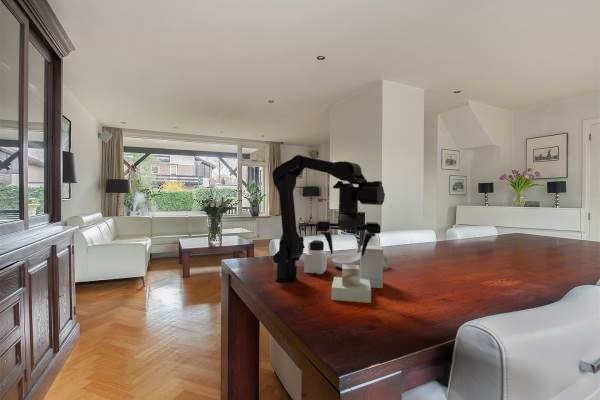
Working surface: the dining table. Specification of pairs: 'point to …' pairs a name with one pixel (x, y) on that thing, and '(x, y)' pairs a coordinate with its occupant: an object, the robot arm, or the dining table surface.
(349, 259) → the spoon rest
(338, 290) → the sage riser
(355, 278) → the cream block
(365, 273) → the supplement box
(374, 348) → the dining table surface
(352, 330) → the dining table surface
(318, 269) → the medicine bottle
